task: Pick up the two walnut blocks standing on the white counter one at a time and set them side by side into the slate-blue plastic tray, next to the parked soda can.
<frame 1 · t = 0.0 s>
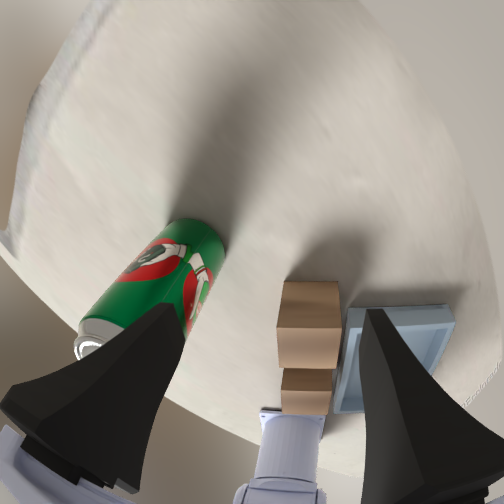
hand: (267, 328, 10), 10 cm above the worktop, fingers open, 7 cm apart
walnut block 1: (308, 359, 26), on the worktop
tray: (386, 358, 24), on the worktop
walnut block 2: (310, 302, 22), on the worktop
soda can: (195, 245, 22), on the worktop
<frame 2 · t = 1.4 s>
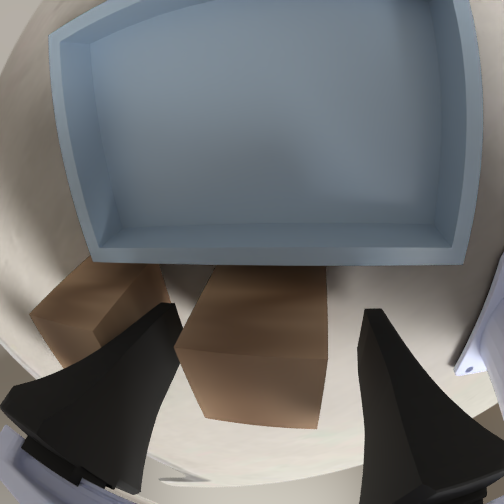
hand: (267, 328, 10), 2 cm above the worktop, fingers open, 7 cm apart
walnut block 1: (275, 296, 12), on the worktop
tray: (258, 105, 8), on the worktop
walnut block 2: (134, 288, 14), on the worktop, touching gripper
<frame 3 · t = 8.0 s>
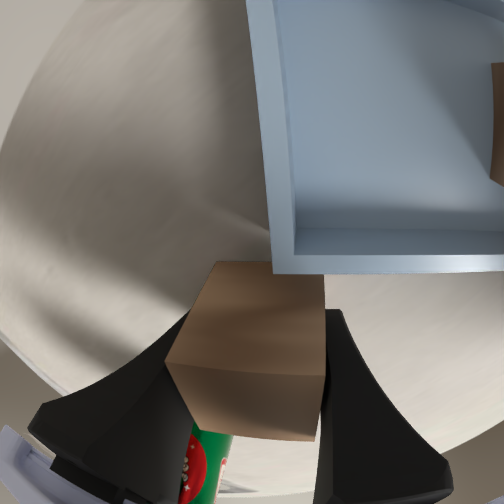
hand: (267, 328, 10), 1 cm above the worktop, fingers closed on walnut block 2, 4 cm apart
tray: (464, 115, 7), on the worktop
walnut block 2: (271, 304, 12), on the worktop, touching gripper
soda can: (202, 397, 17), on the worktop
when the fingers open (3 cm above the worktop, at t = 10.7 s): walnut block 2 stays where it is, resting on tray.
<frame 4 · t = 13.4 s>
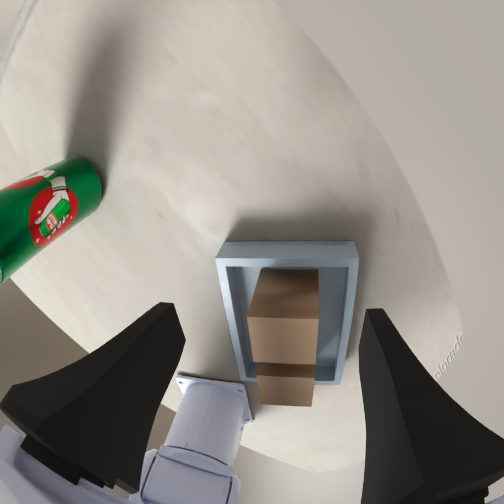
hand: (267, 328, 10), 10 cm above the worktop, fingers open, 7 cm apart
walnut block 1: (291, 344, 24), point 1 cm above the worktop, touching tray
tray: (291, 314, 23), on the worktop
walnut block 2: (290, 292, 21), point 1 cm above the worktop, touching tray
soda can: (84, 183, 20), on the worktop
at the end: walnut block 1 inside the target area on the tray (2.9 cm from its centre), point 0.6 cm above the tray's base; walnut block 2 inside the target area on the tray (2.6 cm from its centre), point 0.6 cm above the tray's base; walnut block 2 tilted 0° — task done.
